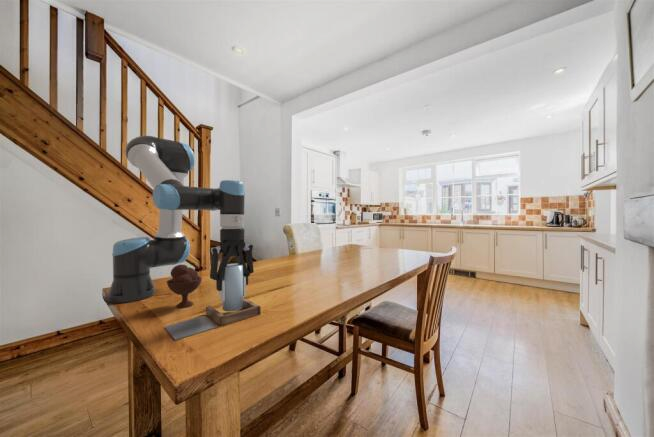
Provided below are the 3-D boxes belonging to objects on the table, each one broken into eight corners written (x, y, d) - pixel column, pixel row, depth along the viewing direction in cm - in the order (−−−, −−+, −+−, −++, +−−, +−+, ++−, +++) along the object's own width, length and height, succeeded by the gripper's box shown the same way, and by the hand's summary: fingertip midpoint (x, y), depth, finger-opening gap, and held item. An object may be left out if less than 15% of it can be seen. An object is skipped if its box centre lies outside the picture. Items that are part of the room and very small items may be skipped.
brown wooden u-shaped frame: (206, 313, 84) (205, 306, 84) (242, 304, 93) (242, 297, 93) (221, 326, 75) (221, 317, 75) (260, 313, 84) (260, 306, 84)
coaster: (164, 327, 74) (164, 326, 74) (204, 316, 82) (204, 315, 82) (175, 340, 66) (175, 339, 66) (218, 327, 74) (218, 326, 74)
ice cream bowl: (187, 312, 85) (187, 267, 85) (159, 309, 88) (158, 266, 87) (208, 301, 96) (207, 262, 96) (182, 299, 98) (182, 261, 98)
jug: (227, 312, 79) (227, 268, 79) (216, 305, 86) (216, 264, 85) (246, 307, 84) (246, 265, 83) (234, 301, 90) (234, 261, 90)
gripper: (205, 229, 74) (206, 308, 74) (264, 227, 87) (264, 293, 88) (197, 228, 79) (197, 301, 80) (253, 226, 93) (254, 289, 93)
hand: (232, 297), depth 84 cm, fingers closed on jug, 6 cm apart
